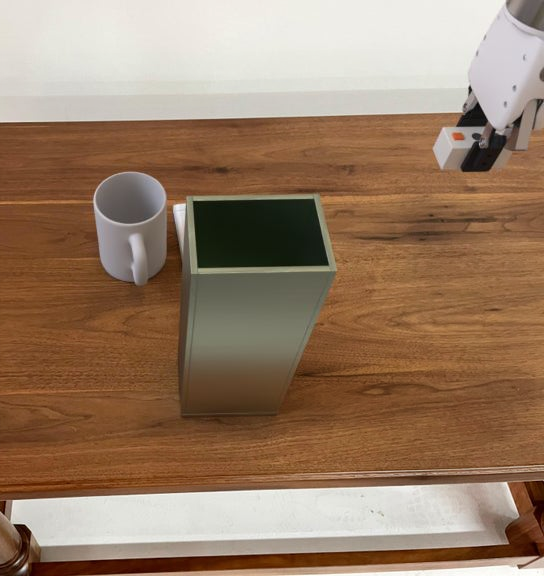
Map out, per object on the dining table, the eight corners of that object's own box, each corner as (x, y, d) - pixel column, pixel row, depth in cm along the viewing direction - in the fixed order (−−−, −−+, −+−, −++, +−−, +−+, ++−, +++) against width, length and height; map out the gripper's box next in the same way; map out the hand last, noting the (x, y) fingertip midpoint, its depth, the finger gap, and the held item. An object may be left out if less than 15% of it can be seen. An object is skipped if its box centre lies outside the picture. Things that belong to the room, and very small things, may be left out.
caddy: (268, 354, 69) (319, 193, 47) (276, 415, 65) (337, 270, 43) (177, 355, 69) (186, 195, 47) (180, 417, 65) (191, 273, 43)
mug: (96, 235, 79) (88, 175, 70) (160, 226, 80) (160, 166, 71) (108, 311, 73) (101, 256, 64) (177, 300, 73) (180, 244, 64)
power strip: (502, 169, 68) (517, 145, 65) (440, 170, 68) (453, 146, 65) (492, 147, 70) (506, 124, 67) (432, 148, 70) (443, 125, 67)
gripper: (641, 55, 49) (527, 210, 64) (558, -46, 58) (476, 109, 73) (549, 57, 49) (457, 211, 64) (481, -45, 58) (415, 110, 73)
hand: (468, 155), depth 68 cm, fingers closed on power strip, 3 cm apart
